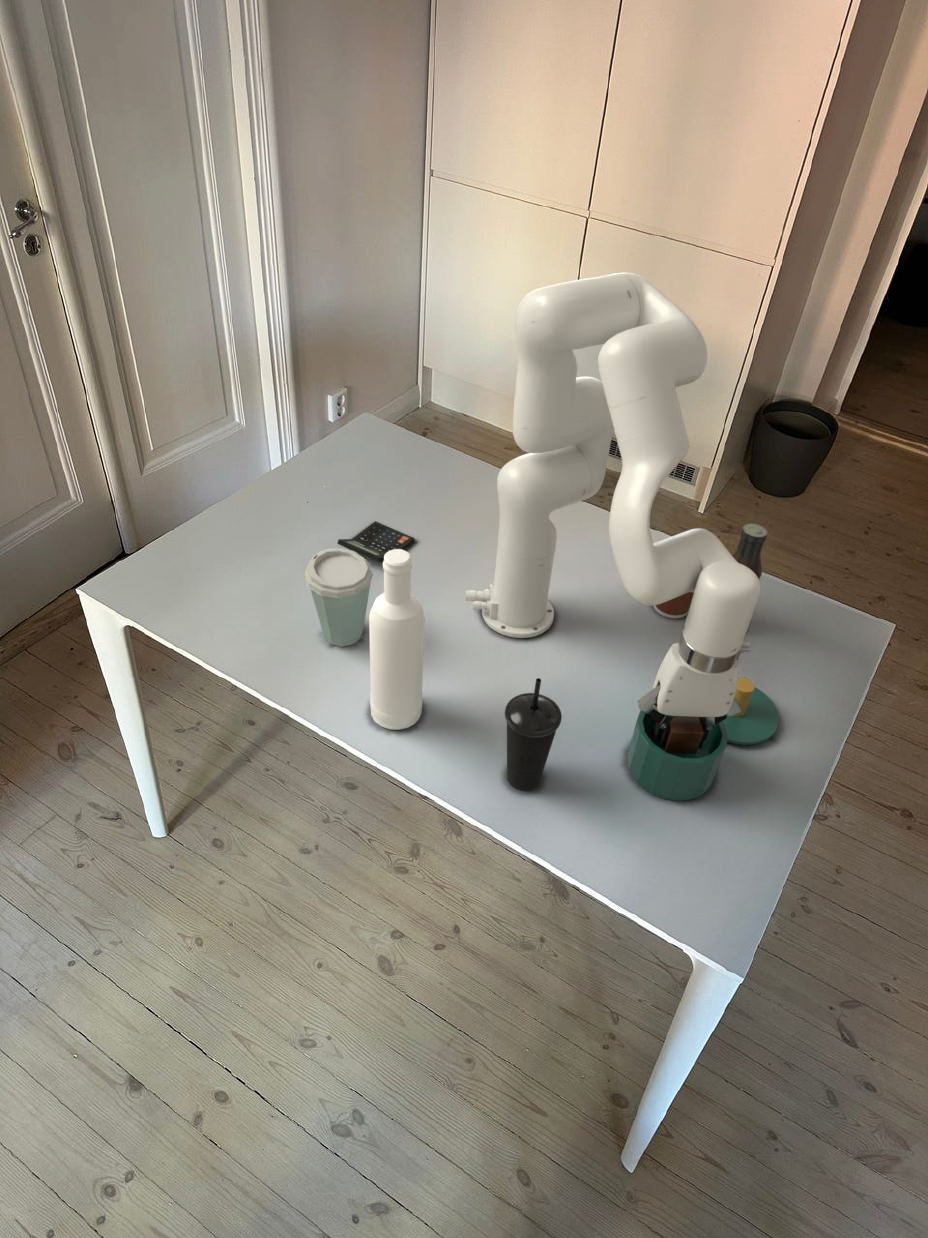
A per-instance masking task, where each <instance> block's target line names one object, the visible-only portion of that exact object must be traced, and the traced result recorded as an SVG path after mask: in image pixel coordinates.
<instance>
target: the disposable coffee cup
mask: <svg viewBox="0 0 928 1238" xmlns="http://www.w3.org/2000/svg"><path fill="white" fill-rule="evenodd" d="M372 578H373V571H372V568H371V566H370V563H369V562H368V560H367V559H365V557H364V556H363V555H361V554H359V553H357V552H354V551H352V550H350V549H348V548H344V547H343V548H342V547H331V548H324V549H322V550H320V551H319V552H316V553H315V554H313V556H312V557H311V558H310V560H309V562H308V564H307V568H306V569H305V572H304V579H305V582H306V585H307V587H308V589H309V590H310V593H311V596H312V601H313V603H314V606H315V611H316V615H317V617H318V621H319V624H320V627H321V631H322V634H323V636H324V638H325V639H326V641H327V642H328V643H330V644H331V645H333V646H339V647H346V646H350V645H353V644H355V643H356V642H358V641H359V640H360V638H361V636H362V634H363V633H364V630H365V629H364V628H365V621H366V615H367V608H368V602H369V596H370V595H369V594H370V589H371V588H370V587H371V583H372V582H371V581H372Z"/></svg>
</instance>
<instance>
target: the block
mask: <svg viewBox="0 0 928 1238" xmlns="http://www.w3.org/2000/svg"><path fill="white" fill-rule="evenodd" d="M669 727H670V732H669V735H668V739H667V742H666V745H665V747H664V749H665V752H666V753H679V754H697V751H698V748H699V745H700V742H701V740H702V737H703V734H704V732H703V729H702V725H701V722H700V718H699V717H693V716H674V718H673V719H672V721H671V722H670V724H669Z"/></svg>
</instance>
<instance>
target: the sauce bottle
mask: <svg viewBox="0 0 928 1238" xmlns="http://www.w3.org/2000/svg"><path fill="white" fill-rule="evenodd" d="M768 533H769V532H768V530H767V528H765V527H764V526H762V525H760V524H757V523H747V524H745V525H744V526H742V529H741V532H740V539H739V543H738V544H737V547H736V550H735V551H733V552H732V553H730V554H731V555H732V556H733V558H734V559H735V560H736V561H737V562H738V563H740V564H742V565H744V566H746V567H748V568H749V569H751V570H752V571H753V572H754V573H755V574H756V575H757V577H758V579H759V581H760V582H761V578H762V574H763V570H762V568H763V567H762V559H761V558H762V557H761V553H762V550H763V547H764V543H765V542H766V541H767V537H768Z"/></svg>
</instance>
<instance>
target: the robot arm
mask: <svg viewBox="0 0 928 1238" xmlns="http://www.w3.org/2000/svg"><path fill="white" fill-rule="evenodd" d="M514 335H515V343H516V351H517V369H516V378H515V390H514V400H513V411H512V412H513V413H512V435H513V439H514V441H515V443H516V446H517V447H518V448H519V449H521V450H522V451H523V452H526V454H525V453H524V454H522V455H519V456H517V457H515V458H513V459H511V460H509V461H508V462H506V463H505V464H504V465H503V466H502V467H501V468H500V470H499V472H498V474H497V478H496V490H497V491H496V492H497V498H498V499H497V500H498V508H499V509H498V510H499V519H498V521H499V523H498V535H497V546H496V557H495V567H494V578H493V583H490V585H489V589H488V588H485V589H483V590H476V589H475V590H474V589H473V590H470V589H466V590H465V602H472V610H481V615H482V616H481V617H482V618H483V620H484V622H485V624H486V625H487V626H488V627H489V628H490V629H492V630H493V631H495V632H496V633H498V634H500V635H503V636H506V637H510V638H516V639H527V638H533V637H537V636H540V635H541V634H544V633H545V632H546V631H548V630H549V629H550V628H551V626H552V624H553V622H554V617H555V610H554V606H553V605H552V603H551V602H550V601H549V599H548V597H549V592H550V586H551V581H552V580H551V579H552V573H553V567H554V559H555V553H556V546H557V538H558V537H557V536H558V535H557V534H558V533H557V529H556V526H555V524H554V522H553V521H552V520H551V519H550V518H549V516H550V514H551V513H553V512H556V511H557V510H560V509H563V508H564V507H567V506H570V505H574V504H577V503H580V502H582V501H585V500H587V499H590V498H592V497H593V496H595V495H596V494H597V493H598V492H599V491H600V489H601V488H602V486H603V483H604V480H605V476H606V472H607V471H606V470H607V466H608V461H609V455H610V449H611V444H612V438H613V433H614V435H615V437H616V443H617V445H618V450H619V454H620V458H621V463H622V466H621V467H622V468H621V472H620V475H619V477H618V480H617V483H616V486H615V489H614V491H613V495H612V500H611V506H610V512H609V519H608V536H609V542H610V547H611V551H612V554H613V558H614V562H615V565H616V569H617V572H618V575H619V578H620V581H621V583H622V585H623V587H624V589H625V591H626V593H627V595H629V596H630V598H632V600H634V601H635V602H636V603H638V604H640V605H644V606H648V607H649V606H650V607H651V606H654V605H658V604H661V603H664V602H666V601H669V600H671V599H674V598H676V597H679V596H681V595H683V594H686V593H688V592H694V594H693V598H692V601H691V605H690V608H689V612H688V613H687V615H686V618H685V622H684V626H683V629H682V632H681V635H680V639H679V642H675V643H672V645H671V646H670V648H669V649H668V650H667V653H666V654H665V656H664V657H663V659H662V662H661V664H660V666H659V668H658V671H657V673H656V676H655V678H654V682H653V685H652V689H651V690H650V691H648V692H647V693H646V694H645V695H643V696H642V697H640V698H639V699H638V700H637V705H638V709H639V710H642V711H643V712H645V713H647V714H649V715H650V717H651V718H653V719H654V720H655V721H656V726H655V729H654V737H655V739H658V742H659V746H660V748H664V747H665V745H666V742H667V739H668V735H669V732H670V727H669V724H670V722H671V721H672V719H673V718H674V716H693V717H699V718H700V722H701V725H702V729H703V732H704V734H703V737H702V740H701V742H700V745H699V748H698V749H701V746H702V744H703V741H705V740H706V738H707V736H708V733H709V730H712V729H714V727H715V725H716V724H717V723H719V722H721V721H723V720H725V719H726V718H727V717H728V716H729V717H730V716H732V715H735V714H737V713H740V712H741V708H740V705H739V702H738V701H737V699H736V698H735V692H736V687H737V682H738V678H739V673H740V658H739V657H740V655H741V654H743V653H749V652H750V651H751V643H750V641H745V640H744V639H745V636H746V634H747V631H748V628H749V625H750V623H751V620H752V617H753V614H754V612H755V609H756V606H757V604H758V600H759V599H760V594H761V580H760V581H759V579H758V577H757V575H756V574H755V573H754V572H753V571H752V570H751V569H749V568H748V567H746V566H744V565H742V564H740V563H738V562H737V561H736V560H735V559H734V558H733V556H732V555H731V554H732V553H730V551H729V550H728V549H727V547H726V546H725V545H724V543H723V542H722V541H721V540H720V539H719V538H718V536H716V535H715V534H714V532H711V531H710V530H708V529H706V528H701V527H698V528H692V529H688V530H685V531H683V532H680V533H677V534H675V535H672V536H668V537H666V538H663V539H661V540H658V541H655V542H654V541H653V538H652V531H651V520H650V519H651V513H652V512H651V511H652V508H653V503H654V501H655V498H656V495H657V494H658V491H659V490H660V488H661V487H662V485H663V483H664V482H665V481H666V480H667V478H668V477H669V476H670V474H671V473H672V472H673V471H674V470H675V468H676V467H678V465H679V464H680V463H681V461H682V460H684V458H685V457H686V455H687V454H688V452H689V450H690V441H689V437H688V434H687V430H686V426H685V421H684V418H683V414H682V409H681V406H680V401H679V397H678V393H677V389H676V388H679V387H682V386H686V385H689V384H692V383H694V382H696V381H697V380H698V379H699V378H701V376H702V375H703V373H704V372H705V369H706V367H707V363H708V348H707V344H706V342H705V339H704V336H703V334H702V332H701V330H700V329H699V327H698V326H697V325H696V323H695V322H694V321H693V320H692V318H691V317H690V316H688V314H687V313H686V312H684V311H683V309H681V308H680V307H679V306H678V305H677V304H676V303H675V302H674V301H672V299H670V298H669V297H667V295H666V294H665V293H663V292H661V290H659V288H658V287H656V286H655V285H654V284H653V283H651V282H650V281H649V280H647V279H646V278H644V277H643V276H641V275H639V274H636V273H633V272H616V273H611V274H605V275H600V276H595V277H587V278H582V279H576V280H570V281H566V282H565V281H564V282H560V283H555V284H551V285H547V286H543V287H540V288H536V289H534V290H532V291H530V292H528V293H527V294H526V295H525V296H524V297H523V298H522V300H520V303H519V304H518V307H517V308H516V313H515V318H514ZM601 345H602V347H601V348H600V351H599V352H598V353H599V354H598V359H597V364H598V373H599V376H600V379H598V378H595V377H593V376H578V368H579V367H578V365H579V364H578V359H577V355H576V354H577V353H576V352H575V350H581V349H585V348H590V347H594V346H601ZM577 376H578V377H577ZM613 431H614V432H613ZM656 702H657V705H658V706H657V705H656V704H655V703H656Z"/></svg>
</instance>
